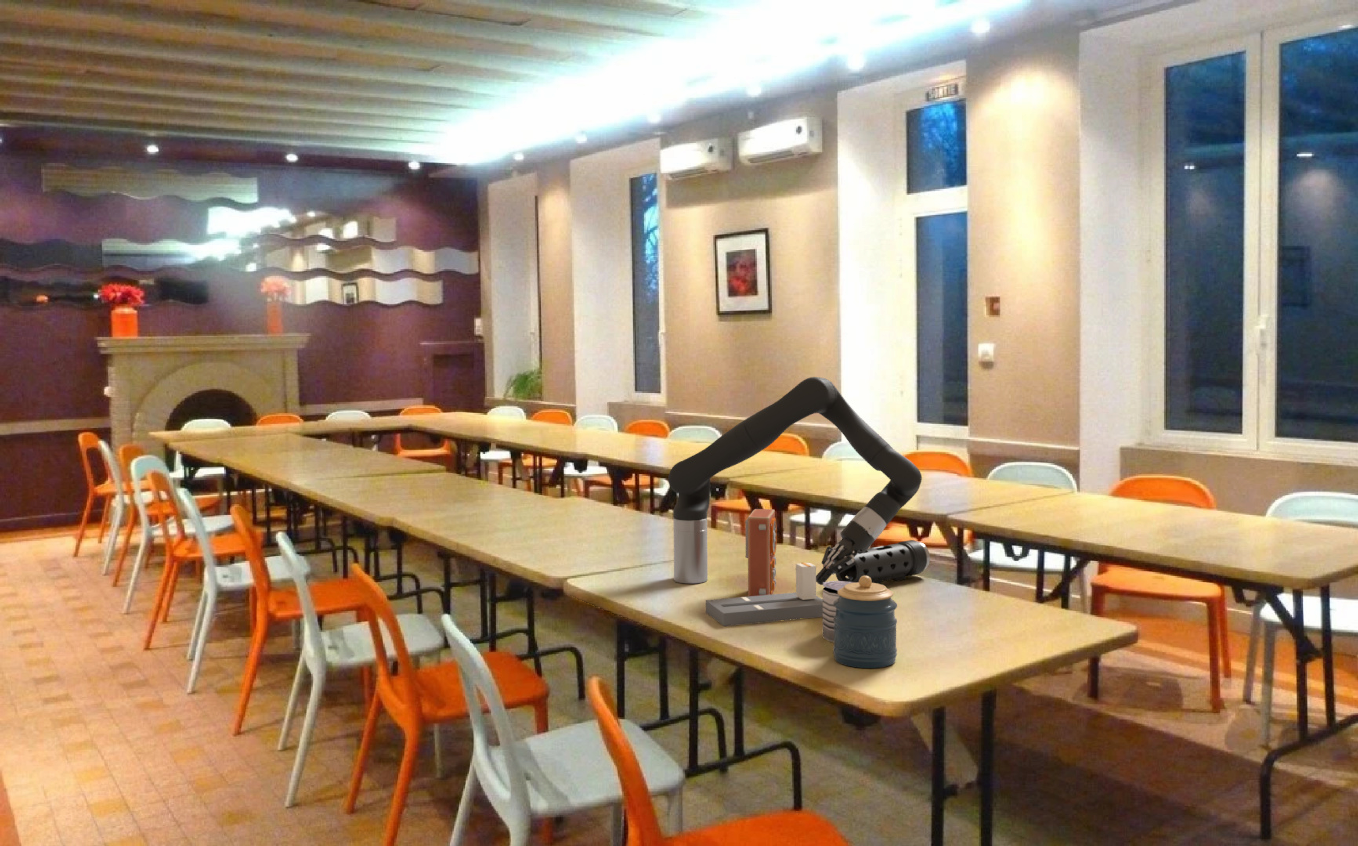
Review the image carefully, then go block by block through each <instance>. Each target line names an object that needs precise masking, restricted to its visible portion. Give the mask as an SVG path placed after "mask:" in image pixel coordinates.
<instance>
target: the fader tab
mask: <svg viewBox="0 0 1358 846" xmlns="http://www.w3.org/2000/svg"><path fill="white" fill-rule="evenodd" d="M816 575H817V566H816V565H815V564H813V563H810V562H800V563H795V592H796V596H797V597H799V598H800V599H802V600H807V599H816V596H817V582H816Z"/></svg>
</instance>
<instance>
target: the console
mask: <svg viewBox="0 0 1358 846" xmlns="http://www.w3.org/2000/svg"><path fill="white" fill-rule="evenodd" d="M705 613H706V614H707V615H708V616H710V617H711V618H712V619H713V620H715V621H716V622H718V623H719V624H721V626H723V627H727V626H728V627H729V626H730V625H731V626H739V625H749V624H751V623H752V624H759V623H758V622H763V623H772V622H780V621H781V620H784V621H794V620H793V619H795V620H801V619H800V618H805V619H815V618H823V598H821V597H819V596H817V595H816V599H807V600H802V599H800V598H799V597H797V596H796V591H795V592H786V593H773V594H772V595H760V596H749V597H748V596H739V597H727V598H726V597H725V598H717V599H715V598H714V599H705ZM790 619H791V620H790ZM752 624H751V625H752Z"/></svg>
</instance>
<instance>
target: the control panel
mask: <svg viewBox="0 0 1358 846" xmlns="http://www.w3.org/2000/svg"><path fill="white" fill-rule="evenodd" d="M775 512H776V511H775V509H772V508H770V509H769V508H768V509H767V508H754V509H753V510H752V511H751V512H750V514H749V515H748V517H747V519H746V520H745V522H744V523H745V559H747V597H749V596H760V595H772V594H774V592H775V589H776V587H777V579H776V578H775V577H776V576H777V567H776V565H777V557H776V551H777V545H778V543H777V541H778V540H777V538H778V536H777V535H778V527H777V519H776V517H775V516H776V515H775Z"/></svg>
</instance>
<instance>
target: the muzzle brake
mask: <svg viewBox="0 0 1358 846" xmlns="http://www.w3.org/2000/svg"><path fill="white" fill-rule="evenodd" d="M930 556H931V554H930V552H929V549H928V547H927V546H926V544H924V543H923V542H921V541H917V540H914V539H913V540H912V539H910V540H904V541H899V542H897V543H894V544H888V545H887V544H886V545H881V546H876V547H869V548H868V549H867V550H866V551H865V552H864V553H860V552H858V553H857V555H856V556H855V557H854V560H855V561H856V564H855V565H853V566H852V567H850V568H848V569H846V570H845V571H843V572H841V573H840V574H836V573H835V574H834V575H835V577H836V580H837V581H845V582H855V583H857V582H859V579H860V577H862V576H869V577H870V578H871V581H872V583H877V584H881V583H882V582H884V581H890V580H892V581H895V582H899V581H903V580H906V577H911V576H916V575H920V574H921V573H922V572H924V570H926V569H927V568H928V567H929V565H930V562H931V561H930V560H931V557H930ZM881 585H882V584H881Z"/></svg>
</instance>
